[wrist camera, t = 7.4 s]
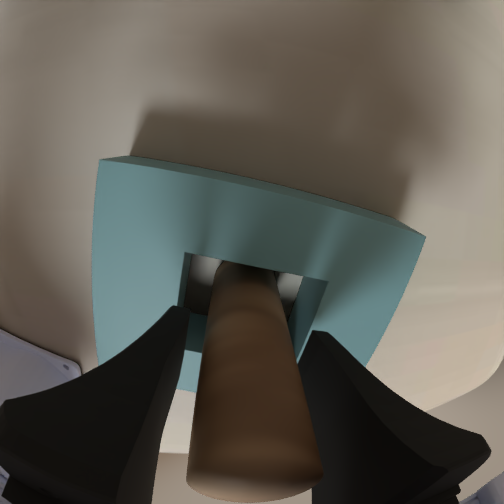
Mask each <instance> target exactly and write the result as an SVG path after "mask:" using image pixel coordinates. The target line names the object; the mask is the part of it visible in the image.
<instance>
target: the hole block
mask: <svg viewBox="0 0 504 504" xmlns="http://www.w3.org/2000/svg"><path fill="white" fill-rule="evenodd" d="M425 239H426V236H424V235H422V234H421V233H419V232H417V231H415V230H414V229H412V228H410V227H408V226H407V225H405V224H403V223H401V222H400V221H398V220H396V219H394V218H391V217H388V216H385V215H382V214H379V213H376V212H373V211H370V210H367V209H363V208H360V207H357V206H354V205H350V204H347V203H344V202H340V201H337V200H333V199H330V198H326V197H323V196H319V195H315V194H312V193H308V192H304V191H301V190H297V189H293V188H289V187H285V186H281V185H277V184H273V183H269V182H265V181H260V180H256V179H252V178H247V177H243V176H239V175H234V174H229V173H225V172H220V171H215V170H210V169H205V168H200V167H195V166H189V165H184V164H178V163H173V162H167V161H161V160H155V159H149V158H142V157H136V156H121V157H114V158H107V159H100V160H99V167H98V174H97V182H96V192H95V202H94V215H93V232H92V299H93V316H94V329H95V339H96V349H97V357H98V364H99V366H100V365H101V364H103V363H105V362H106V361H108V360H109V359H111V358H112V357H114V356H115V355H117V354H118V353H120V352H121V351H122V350H124V349H125V348H126V347H128V346H129V345H130V344H131V343H133V342H134V341H135V340H137V339H138V338H139V337H140V336H141V335H142V334H144V333H145V332H146V331H147V330H148V329H149V328H150V327H151V326H152V325H153V324H154V323H155V322H156V321H158V320H159V319H160V317H161V316H162V315H163V314H164V313H165V312H166V311H167V310H168V309H169V308H170V307H171V306H173V305H175V306H179V307H184V300H185V294H186V287H187V281H188V274H189V268H190V262H191V256H192V254H197V255H201V256H206V257H211V258H216V259H221V260H226V261H230V262H235V263H240V264H245V265H250V266H255V267H260V268H265V269H270V270H275V271H280V272H285V273H290V274H295V275H300V276H304V277H303V280H302V283H301V285H300V288H299V291H298V294H297V297H296V300H295V303H294V306H293V308H292V311H291V314H290V317H289V320H288V322H287V325H288V329H289V333H290V337H291V341H292V345H293V349H294V353H295V357H296V361H297V364H298V361H299V359H300V357H301V355H302V353H303V350H304V348H305V346H306V343H307V341H308V339H309V336H310V334H311V332H312V330H317V331H325V332H328V333H330V334H331V335H332V336H333V337H334V338H335V339H336V340H337V341H338V342H339V343H341V344H342V345H343V346H344V347H345V348H346V349H347V350H348V351H349V352H350V353H351V354H352V355H353V356H354V357H355V358H356V359H357V360H358V361H359V362H360V363H361V364H362V365H363V366H364V367H365V366H366V365H367V363H368V361H369V360H370V358H371V356H372V354H373V353H374V351H375V349H376V347H377V345H378V343H379V342H380V340H381V338H382V336H383V334H384V332H385V330H386V328H387V326H388V324H389V322H390V320H391V318H392V316H393V314H394V312H395V310H396V308H397V306H398V304H399V302H400V300H401V298H402V295H403V293H404V291H405V289H406V286H407V284H408V282H409V279H410V277H411V275H412V272H413V270H414V267H415V265H416V263H417V260H418V257H419V255H420V252H421V250H422V247H423V244H424V242H425ZM207 318H208V316H205V315H200V314H196V313H191V312H190V317H189V324H188V331H187V338H186V345H185V352H184V358H183V363H182V368H181V373H180V378H179V381H178V384H177V387H176V389H180V390H185V391H190V392H197V385H198V378H199V371H200V364H201V357H202V350H203V344H204V337H205V331H206V324H207Z"/></svg>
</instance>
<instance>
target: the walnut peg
mask: <svg viewBox="0 0 504 504" xmlns="http://www.w3.org/2000/svg"><path fill="white" fill-rule="evenodd" d="M322 478H323V468H322V464H321V459H320V455H319V451H318V447H317V442H316V438H315V434H314V430H313V426H312V421H311V417H310V413H309V409H308V405H307V401H306V397H305V393H304V389H303V385H302V381H301V377H300V373H299V369H298V365H297V361H296V357H295V353H294V349H293V345H292V341H291V337H290V333H289V329H288V325H287V322H286V318H285V314H284V310H283V306H282V302H281V299H280V295H279V291H278V287H277V283H276V280H275V276H274V273H273V271H272V270H270V269H265V268H260V267H255V266H250V265H245V264H240V263H235V262H230V261H224V262H223V263H222V264H221V265H220V266H219V268H218V269H217V271H216V273H215V277H214V282H213V288H212V294H211V300H210V306H209V312H208V318H207V324H206V331H205V337H204V344H203V350H202V357H201V364H200V371H199V378H198V385H197V392H196V400H195V407H194V415H193V423H192V431H191V440H190V448H189V457H188V467H187V476H186V481H187V483H188V485H189V486H190V487H191V488H192V489H193V490H195V491H196V492H198V493H200V494H202V495H205V496H208V497H211V498H214V499H219V500H225V501H231V502H245V503H248V502H249V503H253V502H267V501H274V500H280V499H284V498H288V497H292V496H295V495H297V494H300V493H302V492H305V491H307V490H309V489H310V488H312V487H314V486H315V485H316V484H318V483H319V482H320V481H321V479H322Z"/></svg>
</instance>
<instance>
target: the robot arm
mask: <svg viewBox="0 0 504 504" xmlns="http://www.w3.org/2000/svg"><path fill="white" fill-rule="evenodd" d="M190 311H191V309H189V308H184V307H179V306H175V305H173V306H171V307H170V308H169V309H168V310H167V311H166V312H165V313H164V314H163V315H162V316H161V317H160V319H159V320H158V321H156V322H155V323H154V324H153V325H152V326H151V327H150V328H149V329H148V330H147V331H146V332H145V333H144V334H142V335H141V336H140V337H139V338H138V339H137V340H135V341H134V342H133V343H131V344H130V345H129V346H128V347H126V348H125V349H124V350H122V351H121V352H120V353H118V354H117V355H115V356H114V357H112V358H111V359H109V360H108V361H106V362H105V363H103V364H101V365H100V366H98V367H96V368H94V369H92V370H90V371H89V372H87V373H85V374H83V375H81V371H80V367H79V366H78V364H77V363H75V362H73V361H71V360H68V359H66V358H63V357H60V356H58V355H55V354H53V353H51V352H48V351H46V350H43V349H41V348H39V347H37V346H34V345H32V344H30V343H28V342H26V341H23V340H21V339H19V338H17V337H15V336H13V335H11V334H9V333H7V332H5V331H3V330H1V329H0V504H151V502H152V495H153V487H154V480H155V473H156V467H157V460H158V454H159V449H160V443H161V438H162V433H163V429H164V426H165V422H166V419H167V416H168V413H169V409H170V406H171V403H172V400H173V397H174V393H175V390H176V387H177V384H178V381H179V378H180V373H181V368H182V363H183V358H184V352H185V345H186V338H187V331H188V324H189V317H190ZM297 365H298V369H299V373H300V377H301V381H302V385H303V389H304V393H305V397H306V401H307V405H308V409H309V413H310V417H311V421H312V426H313V430H314V434H315V438H316V442H317V447H318V451H319V455H320V459H321V464H322V468H323V478H322V479H321V481H320V482H319V483H318V484H316V485H315V486H314V487H312V504H504V472H502V473H501V474H499V475H498V476H497V477H495V478H494V479H492V480H491V481H489V482H488V483H487V484H485V485H484V486H483V487H481V488H480V489H479V490H478V491H477V492H476V493H474V494H472V495H471V496H469V497H467V498H466V499H464V500H462V501H460V502H459V501H458V499H457V497H456V495H457V494H459V493H460V491H461V489H460V487H459V485H458V484H459V483H461V482H462V481H463V480H465V479H466V478H467V477H468V476H469V475H471V474H472V473H473V472H474V471H476V470H477V469H478V468H479V467H480V466H481V465H482V464H483V463H484V462H485V461H486V460H487V459H488V458H489V456H490V454H491V449H490V447H489V446H488V444H487V442H486V440H485V439H484V438H483V437H482V435H480V434H477V433H474V432H470V431H467V430H464V429H461V428H458V427H455V426H453V425H451V424H448V423H446V422H444V421H441V420H439V419H437V418H435V417H433V416H431V415H429V414H427V413H426V412H424V411H422V410H421V409H419V408H417V407H415V406H414V405H412V404H411V403H409V402H408V401H406V400H405V399H403V398H402V397H400V396H399V395H398V394H396V393H395V392H393V391H392V390H391V389H390V388H388V387H387V386H386V385H385V384H383V383H382V382H381V381H380V380H379V379H378V378H376V377H375V376H374V375H373V374H372V373H371V372H370V371H368V370H367V369H366V368H365V367H364V366H363V365H362V364H361V363H360V362H359V361H358V360H357V359H356V358H355V357H354V356H353V355H352V354H351V353H350V352H349V351H348V350H347V349H346V348H345V347H344V346H343V345H342V344H341V343H339V342H338V341H337V340H336V339H335V338H334V337H333V336H332V335H331V334H330V333H328V332H325V331H317V330H312V332H311V334H310V336H309V339H308V341H307V343H306V346H305V348H304V350H303V353H302V355H301V357H300V359H299V361H298V364H297Z"/></svg>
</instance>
